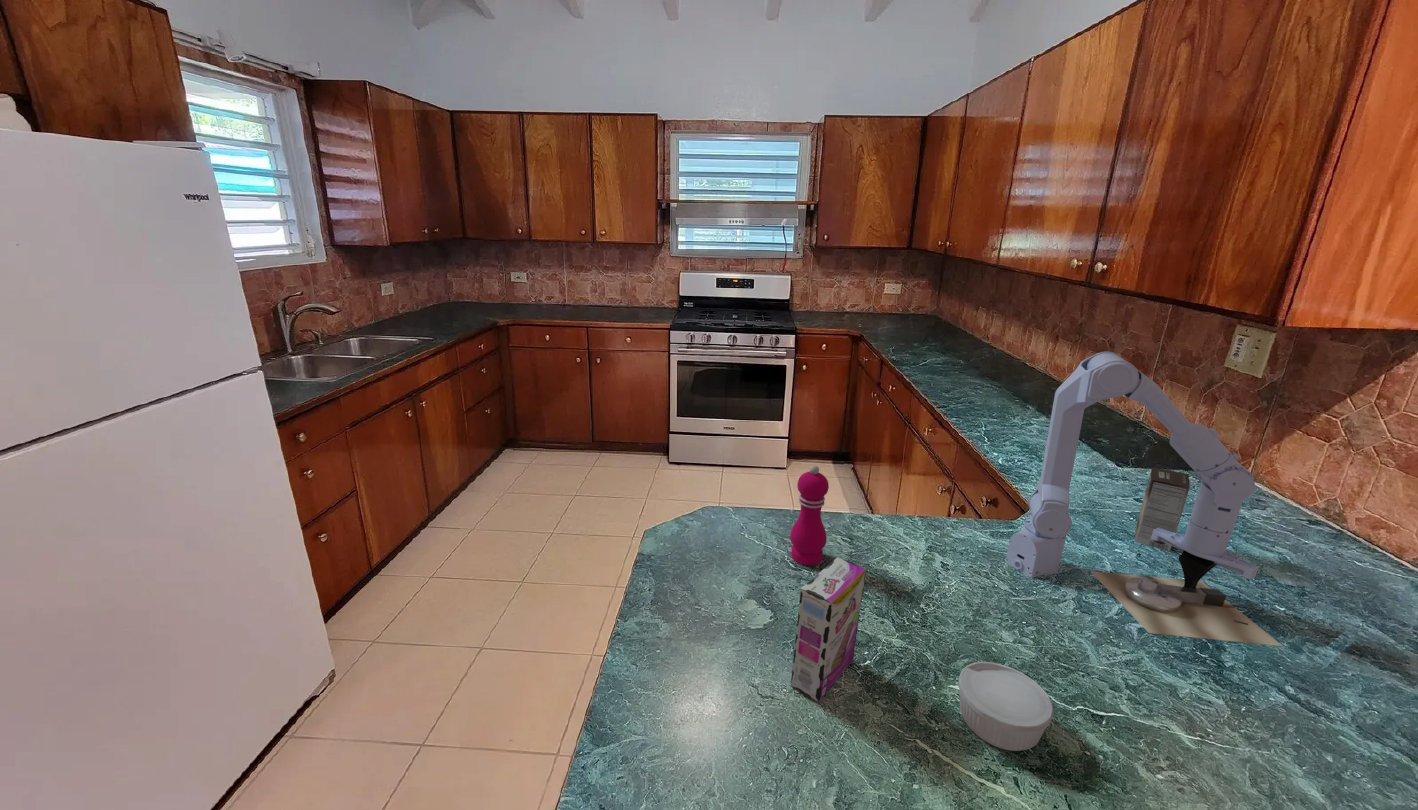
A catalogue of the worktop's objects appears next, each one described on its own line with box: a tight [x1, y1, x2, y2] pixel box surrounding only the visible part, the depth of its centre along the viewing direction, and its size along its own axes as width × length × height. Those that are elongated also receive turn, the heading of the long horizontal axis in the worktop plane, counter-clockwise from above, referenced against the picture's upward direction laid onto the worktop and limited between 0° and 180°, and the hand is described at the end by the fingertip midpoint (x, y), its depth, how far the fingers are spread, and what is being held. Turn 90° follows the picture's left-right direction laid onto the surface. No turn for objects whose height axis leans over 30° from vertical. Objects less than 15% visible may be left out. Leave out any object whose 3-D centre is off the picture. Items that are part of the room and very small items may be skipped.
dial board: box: [1090, 570, 1283, 647], centre depth 99 cm, size 20×18×1 cm
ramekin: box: [958, 661, 1054, 752], centre depth 74 cm, size 11×11×5 cm
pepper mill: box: [789, 464, 830, 566], centre depth 110 cm, size 7×7×20 cm
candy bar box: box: [790, 556, 867, 703], centre depth 80 cm, size 11×5×16 cm, turn 141°
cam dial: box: [1124, 574, 1227, 612], centre depth 99 cm, size 15×8×4 cm, turn 81°
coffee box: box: [1134, 466, 1191, 552], centre depth 120 cm, size 9×6×16 cm
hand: (1188, 591), depth 101 cm, fingers closed
